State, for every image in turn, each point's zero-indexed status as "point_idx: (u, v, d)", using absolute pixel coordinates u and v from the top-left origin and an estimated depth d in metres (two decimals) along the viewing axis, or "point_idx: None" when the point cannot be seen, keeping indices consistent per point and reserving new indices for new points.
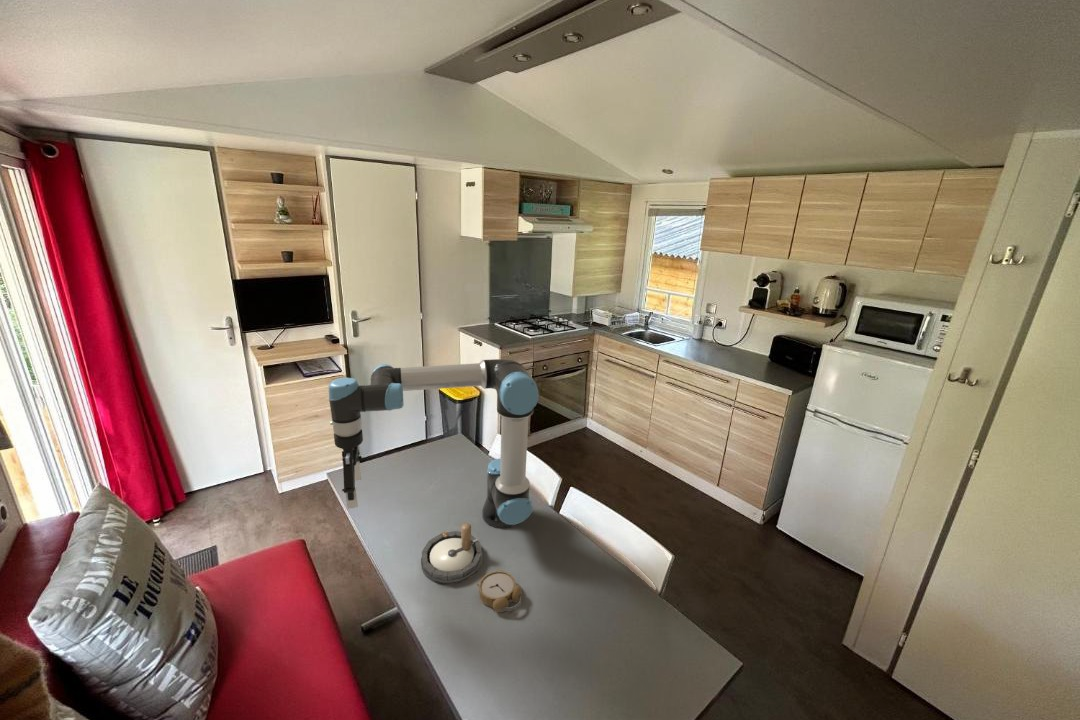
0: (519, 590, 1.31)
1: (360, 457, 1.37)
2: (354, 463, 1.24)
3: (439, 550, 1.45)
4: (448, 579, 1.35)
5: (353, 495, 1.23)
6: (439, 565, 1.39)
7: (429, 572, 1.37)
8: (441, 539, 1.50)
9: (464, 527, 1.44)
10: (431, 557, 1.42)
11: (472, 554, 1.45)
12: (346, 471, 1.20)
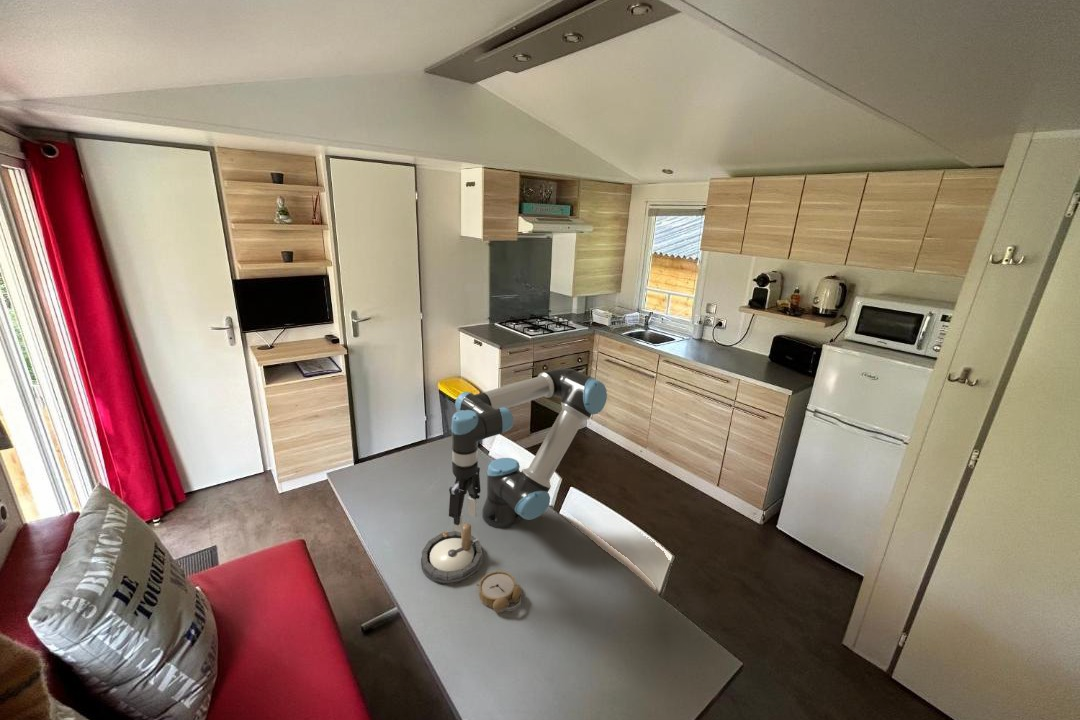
0: (519, 590, 1.31)
1: (478, 496, 1.39)
2: (463, 493, 1.30)
3: (439, 550, 1.45)
4: (448, 579, 1.35)
5: (458, 521, 1.31)
6: (439, 565, 1.39)
7: (429, 572, 1.37)
8: (441, 539, 1.50)
9: (464, 527, 1.44)
10: (431, 557, 1.42)
11: (472, 554, 1.45)
12: (451, 499, 1.28)
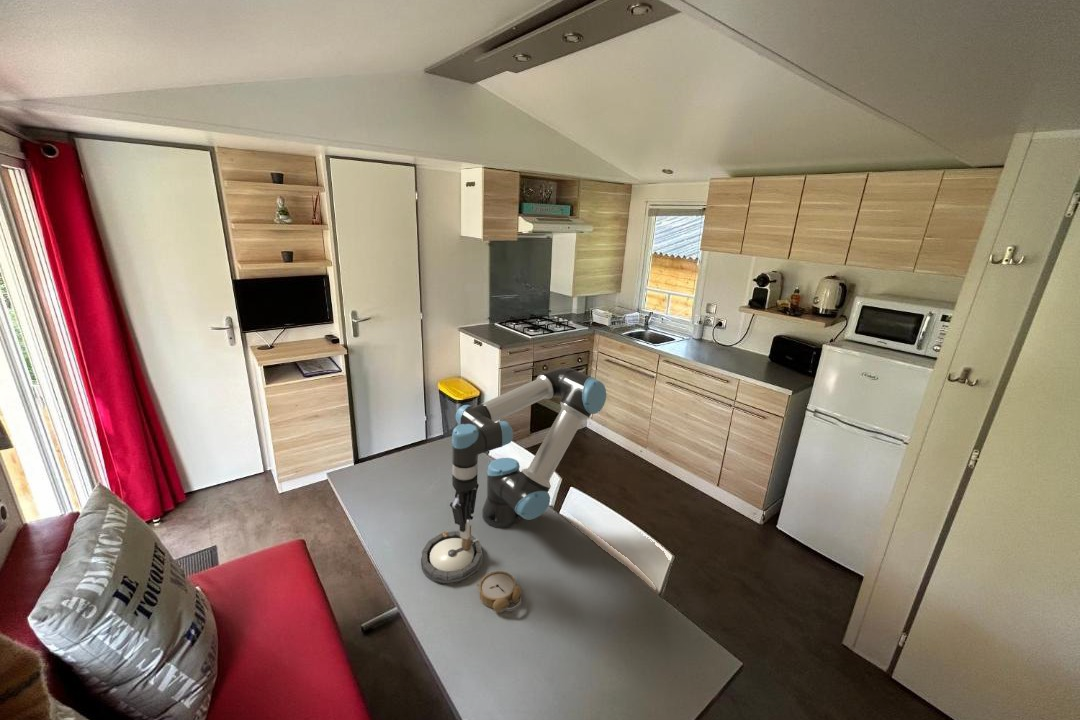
0: (519, 590, 1.31)
1: (471, 517, 1.38)
2: (465, 505, 1.32)
3: (439, 550, 1.45)
4: (448, 579, 1.35)
5: (464, 528, 1.36)
6: (439, 565, 1.39)
7: (429, 572, 1.37)
8: (441, 539, 1.50)
9: None
10: (431, 557, 1.42)
11: (472, 554, 1.45)
12: (454, 512, 1.31)
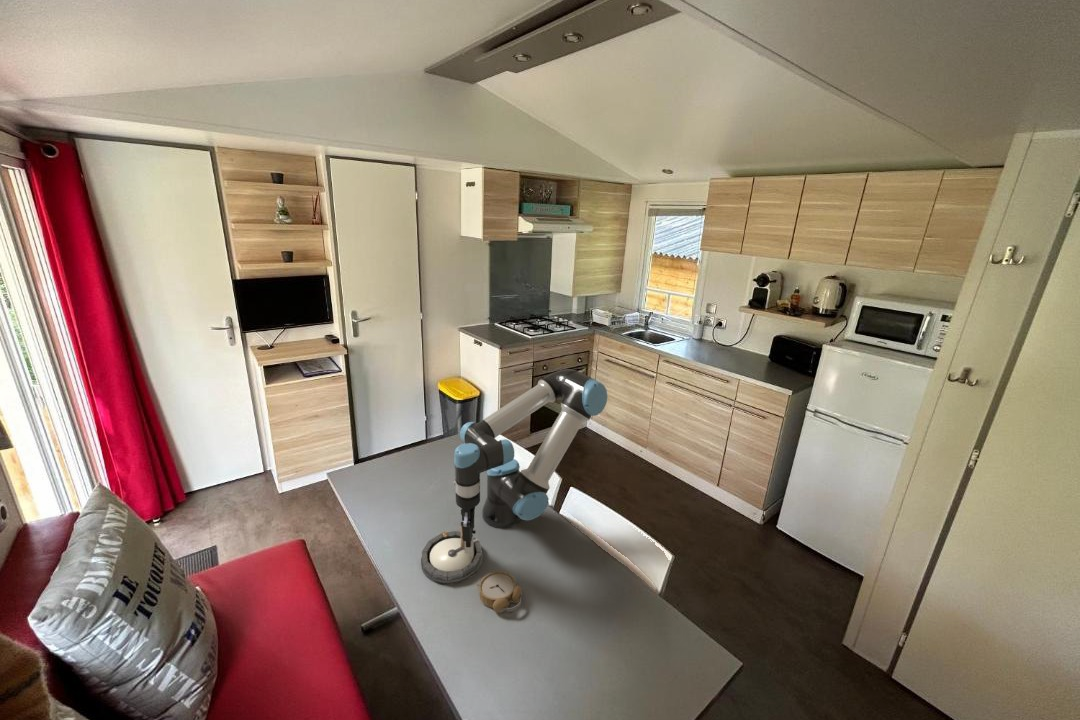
0: (519, 591, 1.30)
1: (474, 531, 1.42)
2: (471, 521, 1.37)
3: (438, 551, 1.45)
4: (448, 579, 1.35)
5: (470, 543, 1.40)
6: (440, 566, 1.39)
7: (429, 572, 1.37)
8: (441, 539, 1.50)
9: None
10: (431, 558, 1.42)
11: None
12: (464, 530, 1.34)
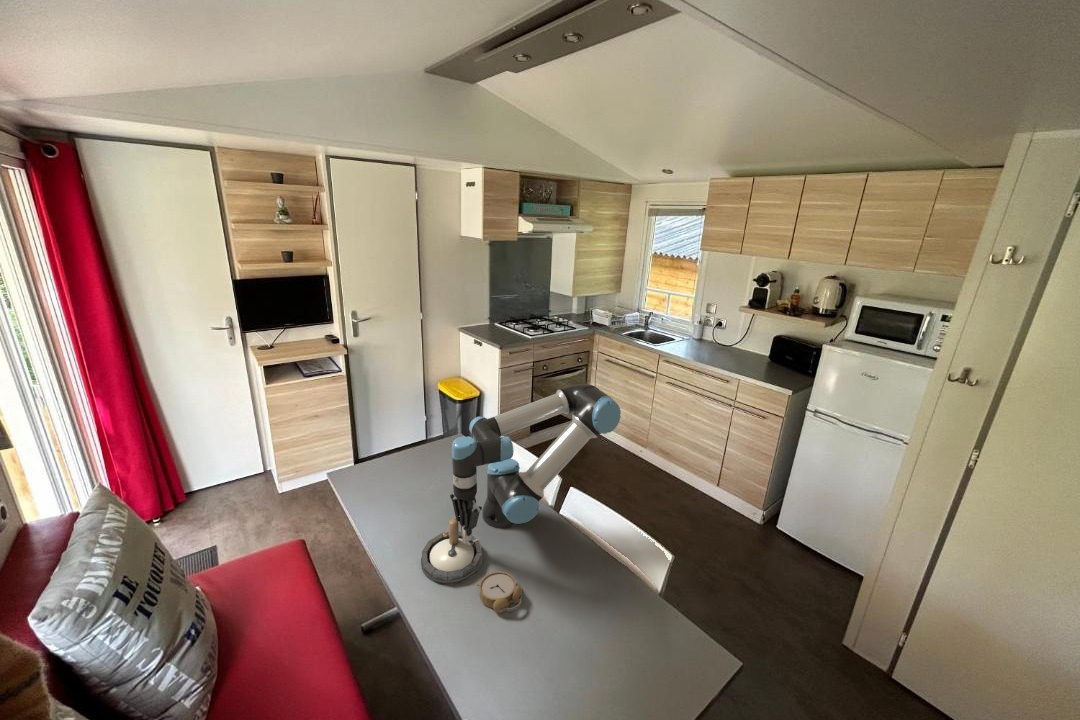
0: (519, 591, 1.30)
1: None
2: (472, 507, 1.43)
3: (439, 560, 1.41)
4: (448, 579, 1.35)
5: None
6: (457, 567, 1.39)
7: (429, 572, 1.37)
8: (441, 539, 1.50)
9: (453, 523, 1.46)
10: (442, 568, 1.38)
11: None
12: (475, 517, 1.40)
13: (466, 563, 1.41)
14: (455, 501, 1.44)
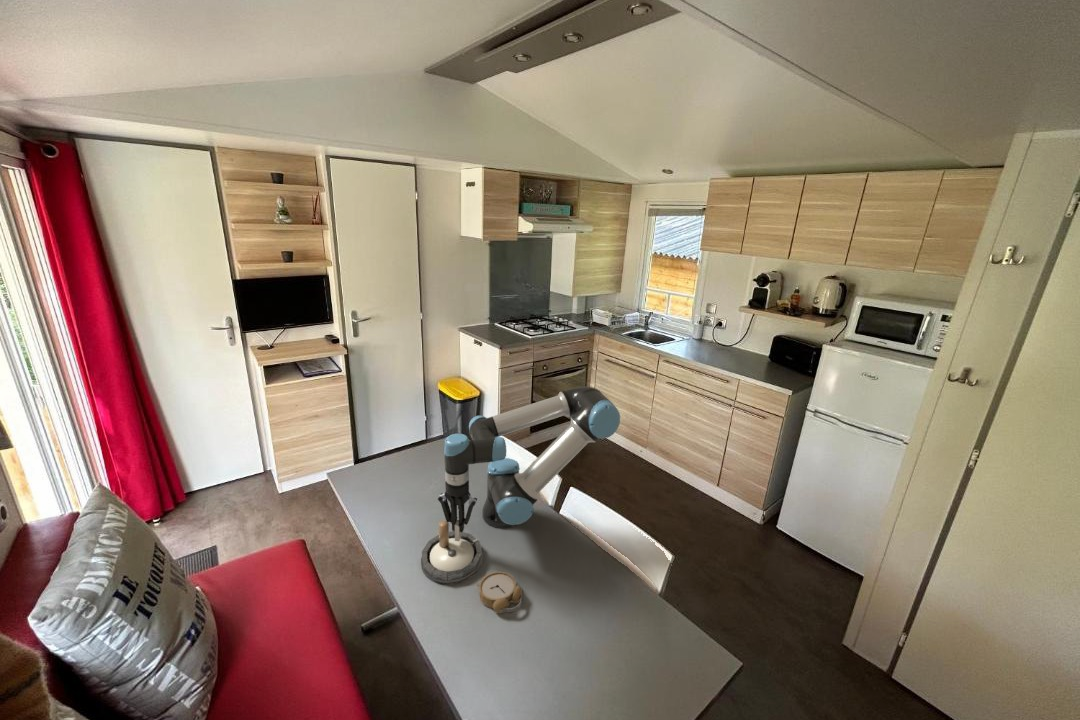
0: (519, 591, 1.30)
1: None
2: None
3: (446, 564, 1.40)
4: (448, 579, 1.35)
5: None
6: (467, 560, 1.42)
7: (429, 572, 1.37)
8: None
9: (444, 525, 1.45)
10: (455, 568, 1.39)
11: (454, 538, 1.51)
12: (471, 509, 1.43)
13: (472, 554, 1.45)
14: (444, 502, 1.44)
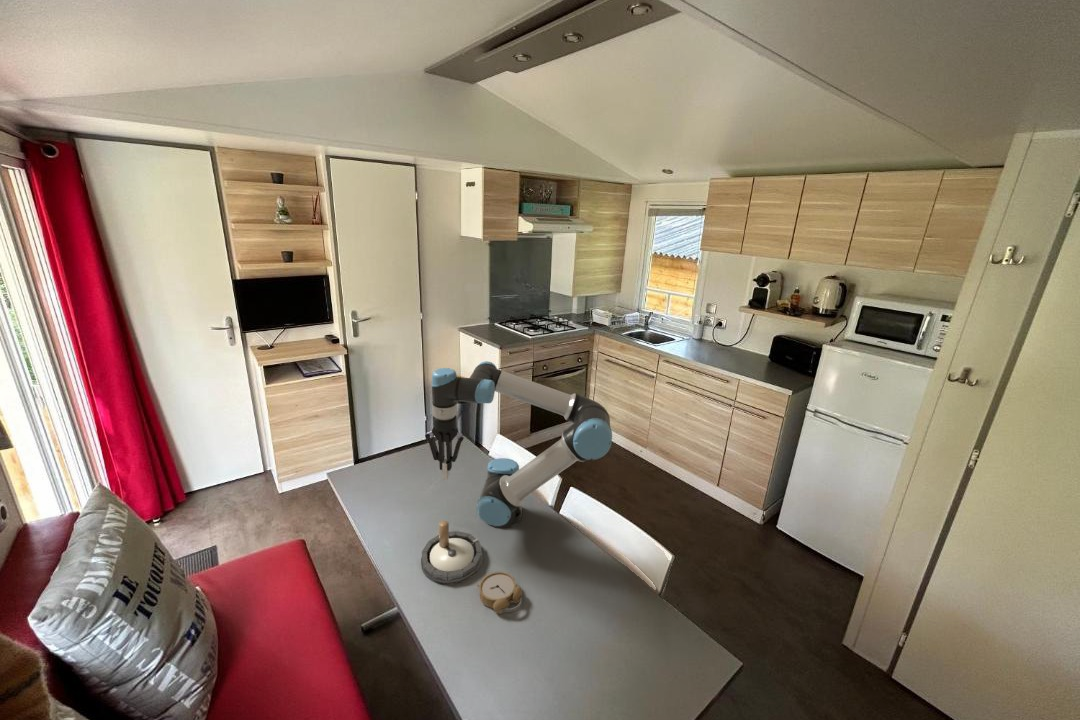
0: (520, 591, 1.30)
1: (442, 456, 1.47)
2: (451, 440, 1.45)
3: (446, 564, 1.40)
4: (448, 579, 1.35)
5: None
6: (467, 560, 1.42)
7: (429, 572, 1.37)
8: None
9: (444, 525, 1.45)
10: (455, 568, 1.39)
11: (454, 538, 1.51)
12: (459, 446, 1.43)
13: (472, 554, 1.45)
14: (432, 439, 1.43)
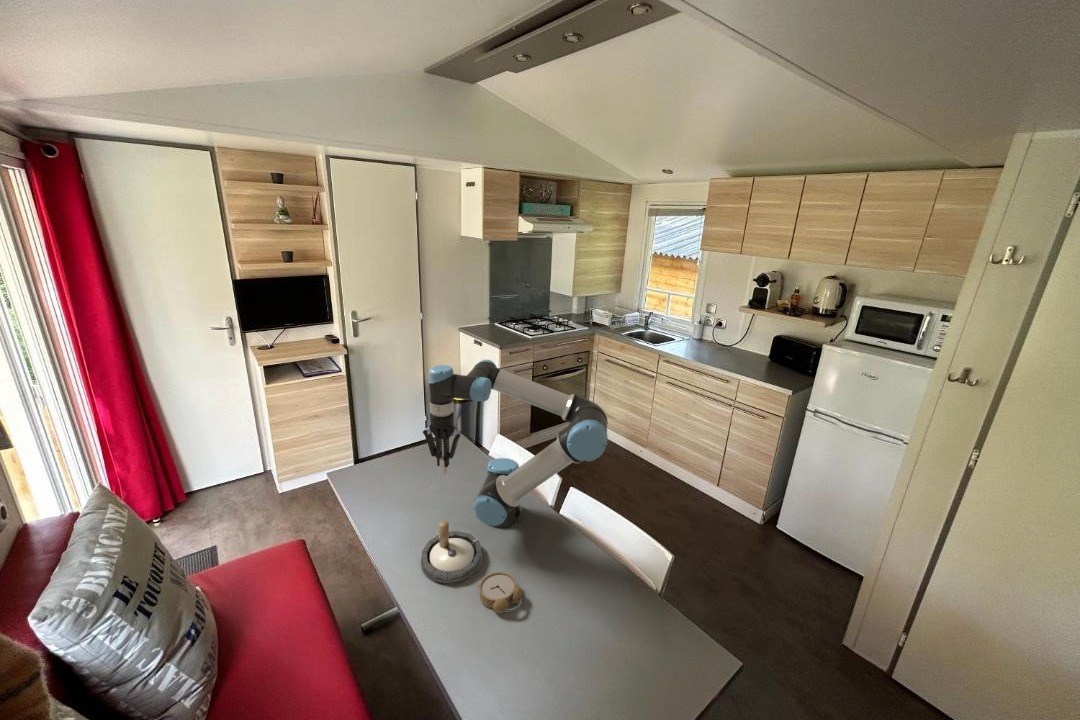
0: (520, 591, 1.30)
1: None
2: (449, 437, 1.46)
3: (446, 564, 1.40)
4: (448, 579, 1.35)
5: None
6: (467, 560, 1.42)
7: (429, 572, 1.37)
8: None
9: (444, 525, 1.45)
10: (455, 568, 1.39)
11: (454, 538, 1.51)
12: (456, 443, 1.44)
13: (472, 554, 1.45)
14: (429, 436, 1.44)
